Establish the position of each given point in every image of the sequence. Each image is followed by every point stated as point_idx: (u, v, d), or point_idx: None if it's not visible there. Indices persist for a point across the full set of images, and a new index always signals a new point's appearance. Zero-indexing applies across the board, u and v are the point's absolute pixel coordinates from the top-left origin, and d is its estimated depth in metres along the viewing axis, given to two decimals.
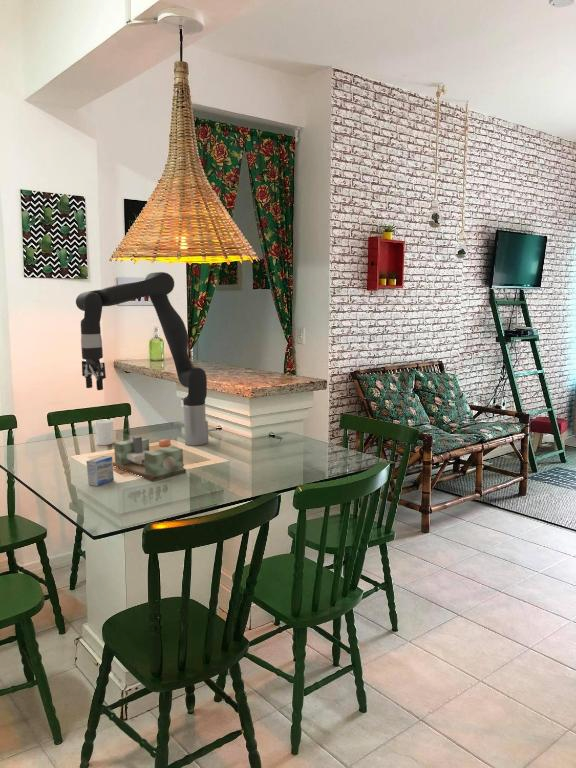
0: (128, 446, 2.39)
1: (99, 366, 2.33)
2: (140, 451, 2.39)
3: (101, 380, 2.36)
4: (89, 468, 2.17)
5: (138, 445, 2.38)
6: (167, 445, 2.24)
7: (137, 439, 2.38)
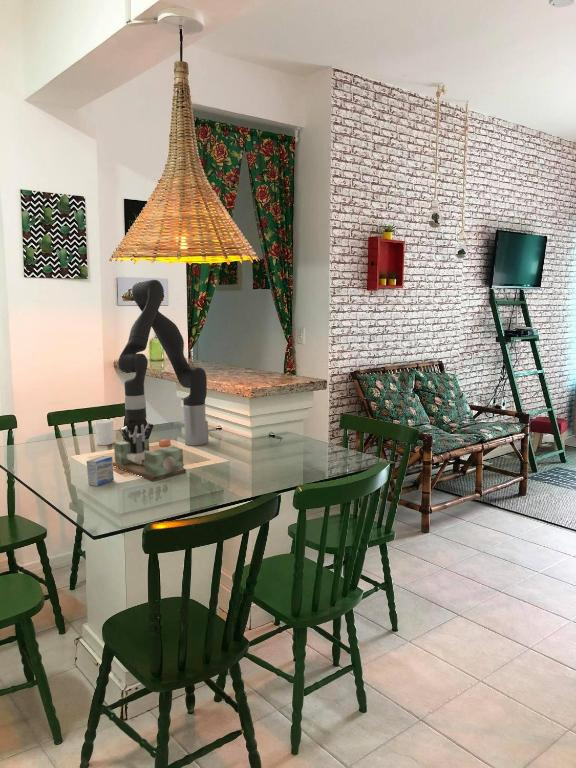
0: (128, 446, 2.39)
1: None
2: (140, 451, 2.39)
3: None
4: (89, 468, 2.17)
5: (138, 445, 2.38)
6: (167, 445, 2.24)
7: (137, 439, 2.38)
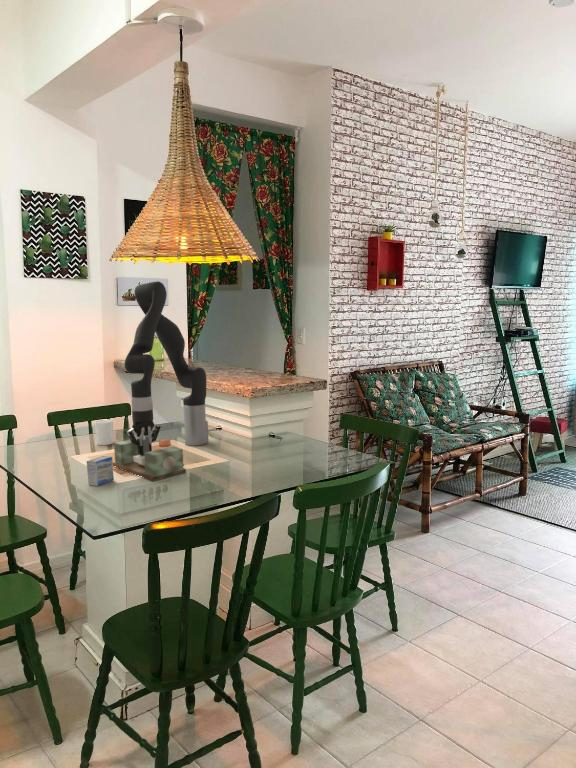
0: (128, 446, 2.39)
1: None
2: None
3: None
4: (89, 468, 2.17)
5: (145, 447, 2.35)
6: (167, 445, 2.24)
7: (144, 441, 2.34)
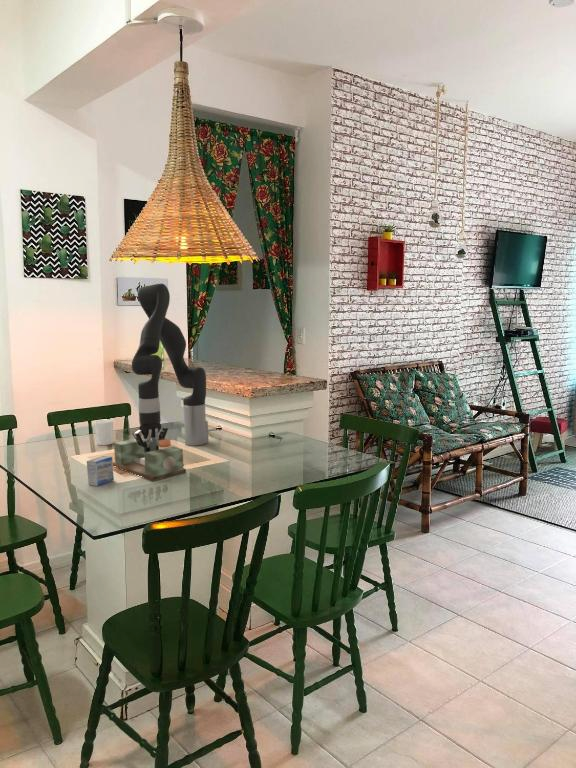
0: (128, 446, 2.39)
1: None
2: None
3: None
4: (89, 468, 2.17)
5: (152, 450, 2.31)
6: (167, 445, 2.24)
7: (151, 443, 2.31)
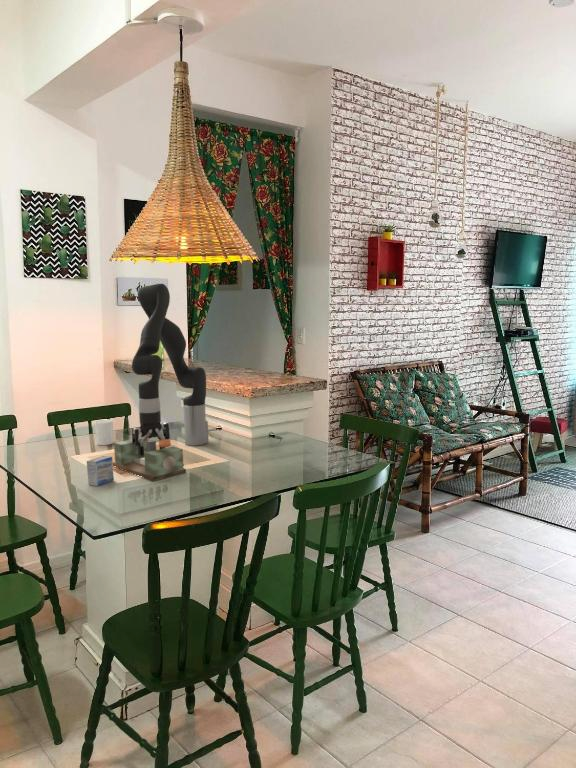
0: (128, 446, 2.39)
1: None
2: None
3: None
4: (89, 468, 2.17)
5: (152, 450, 2.31)
6: (167, 445, 2.24)
7: (151, 443, 2.31)
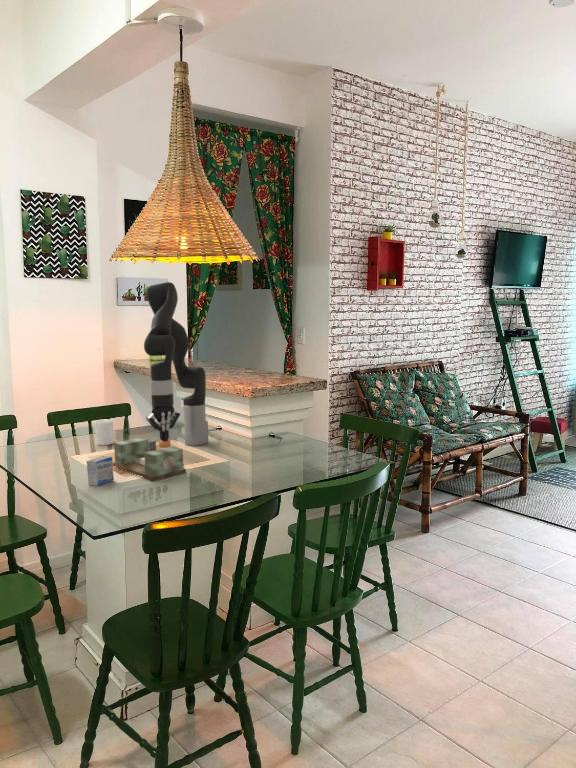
0: (128, 446, 2.39)
1: None
2: None
3: None
4: (89, 468, 2.17)
5: (152, 450, 2.31)
6: (167, 445, 2.24)
7: (151, 443, 2.31)
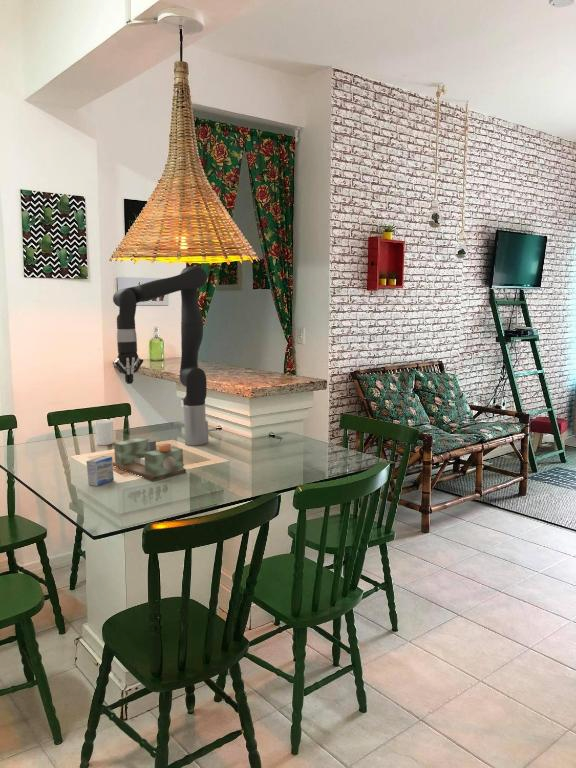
0: (128, 446, 2.39)
1: None
2: None
3: None
4: (89, 468, 2.17)
5: (152, 450, 2.31)
6: (167, 450, 2.24)
7: (151, 443, 2.31)
